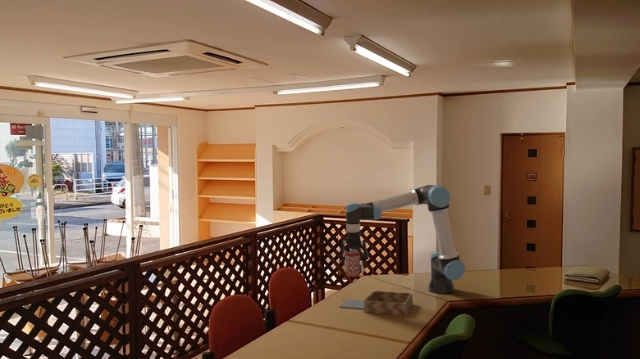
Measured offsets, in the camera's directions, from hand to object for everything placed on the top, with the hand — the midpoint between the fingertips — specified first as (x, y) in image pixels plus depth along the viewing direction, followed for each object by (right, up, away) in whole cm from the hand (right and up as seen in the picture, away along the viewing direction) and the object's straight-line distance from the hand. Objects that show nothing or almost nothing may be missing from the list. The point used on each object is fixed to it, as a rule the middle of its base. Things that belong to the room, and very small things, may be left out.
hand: (354, 271), depth 262 cm
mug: (+1, -2, 0) cm, 2 cm away
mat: (+1, -18, +1) cm, 18 cm away
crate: (+18, -18, -7) cm, 26 cm away
